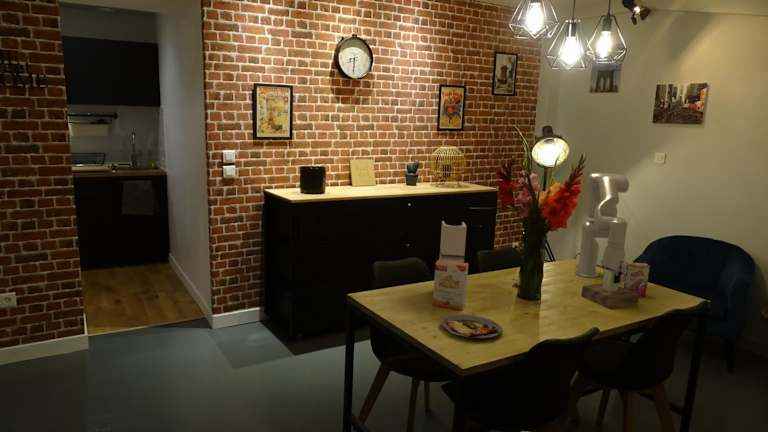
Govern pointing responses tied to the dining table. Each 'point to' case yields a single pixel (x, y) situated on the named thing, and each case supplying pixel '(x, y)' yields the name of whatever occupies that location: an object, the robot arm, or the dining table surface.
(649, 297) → the dining table surface
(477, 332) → the food plate
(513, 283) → the lily
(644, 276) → the candy bar box
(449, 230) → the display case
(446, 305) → the cracker box
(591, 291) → the walnut block
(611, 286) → the sage block
